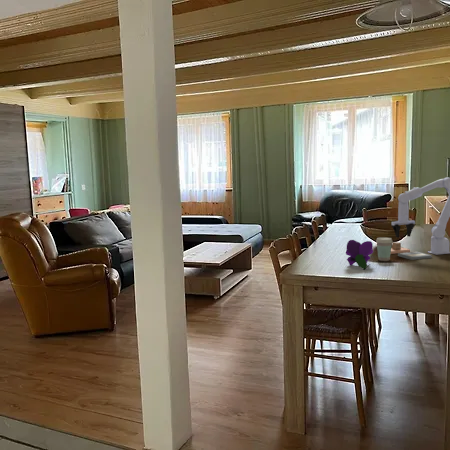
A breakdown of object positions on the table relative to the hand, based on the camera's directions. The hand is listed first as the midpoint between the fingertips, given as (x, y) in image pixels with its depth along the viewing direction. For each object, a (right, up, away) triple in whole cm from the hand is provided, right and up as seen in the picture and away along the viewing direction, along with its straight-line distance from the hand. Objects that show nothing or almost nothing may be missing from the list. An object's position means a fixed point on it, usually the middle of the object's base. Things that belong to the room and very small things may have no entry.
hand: (403, 236), depth 274 cm
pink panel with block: (-3, -9, +3) cm, 10 cm away
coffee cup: (-17, -13, -18) cm, 28 cm away
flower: (-35, -15, -34) cm, 51 cm away
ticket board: (+1, -11, -13) cm, 17 cm away
